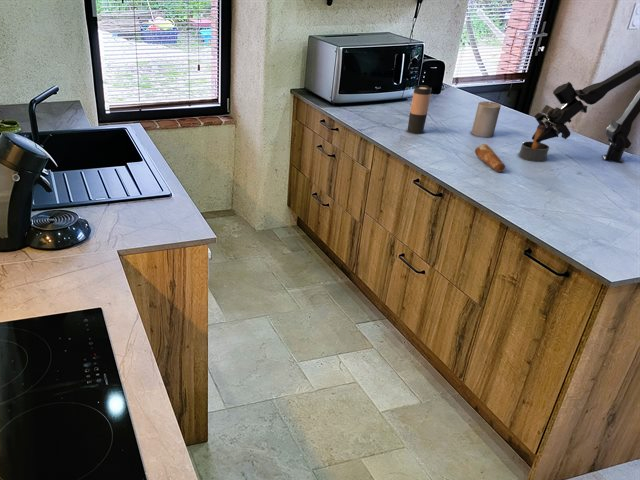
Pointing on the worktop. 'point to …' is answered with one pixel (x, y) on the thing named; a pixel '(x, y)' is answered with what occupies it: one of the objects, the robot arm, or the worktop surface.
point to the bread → (489, 157)
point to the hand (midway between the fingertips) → (534, 140)
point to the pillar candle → (486, 119)
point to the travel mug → (419, 109)
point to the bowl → (533, 152)
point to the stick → (538, 132)
